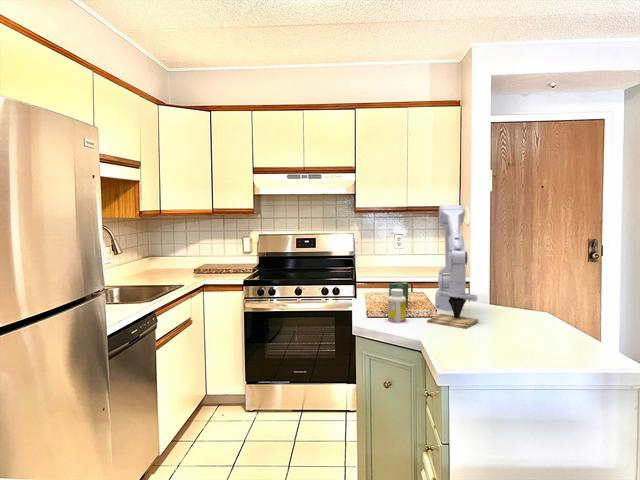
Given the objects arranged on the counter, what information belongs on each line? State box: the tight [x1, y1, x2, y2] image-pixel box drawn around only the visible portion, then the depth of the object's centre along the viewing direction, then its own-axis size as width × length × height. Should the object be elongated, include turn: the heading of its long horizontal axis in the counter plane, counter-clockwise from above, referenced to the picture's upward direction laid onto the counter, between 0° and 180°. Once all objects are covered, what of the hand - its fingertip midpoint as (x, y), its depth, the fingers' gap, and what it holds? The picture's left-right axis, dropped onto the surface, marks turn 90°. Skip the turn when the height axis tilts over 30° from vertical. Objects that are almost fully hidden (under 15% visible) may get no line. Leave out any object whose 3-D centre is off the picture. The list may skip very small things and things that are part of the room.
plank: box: [430, 313, 479, 328], centre depth 179 cm, size 15×8×1 cm, turn 51°
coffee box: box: [388, 282, 409, 309], centre depth 195 cm, size 8×3×13 cm, turn 117°
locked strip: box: [426, 318, 470, 330], centre depth 175 cm, size 15×2×1 cm, turn 51°
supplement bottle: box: [387, 289, 407, 324], centre depth 182 cm, size 7×7×13 cm
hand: (457, 317), depth 181 cm, fingers closed, pressing on plank
